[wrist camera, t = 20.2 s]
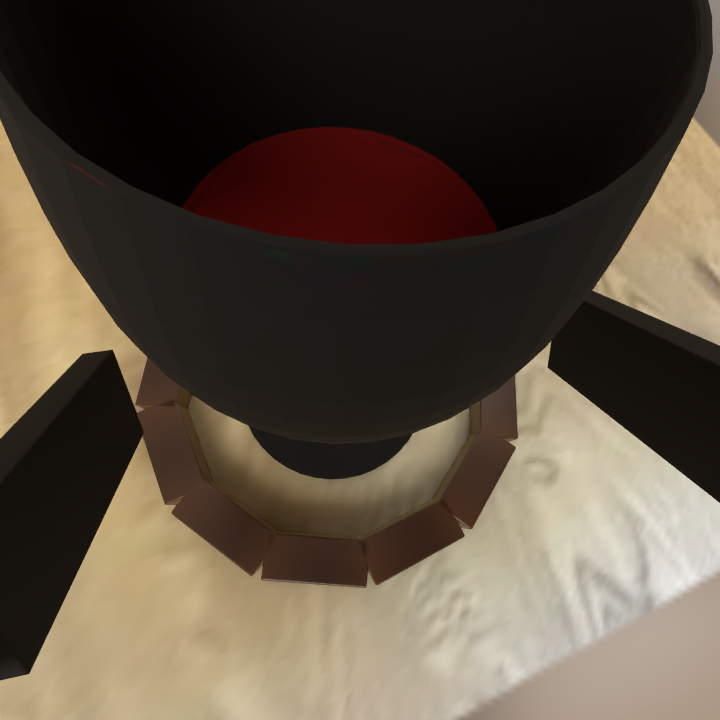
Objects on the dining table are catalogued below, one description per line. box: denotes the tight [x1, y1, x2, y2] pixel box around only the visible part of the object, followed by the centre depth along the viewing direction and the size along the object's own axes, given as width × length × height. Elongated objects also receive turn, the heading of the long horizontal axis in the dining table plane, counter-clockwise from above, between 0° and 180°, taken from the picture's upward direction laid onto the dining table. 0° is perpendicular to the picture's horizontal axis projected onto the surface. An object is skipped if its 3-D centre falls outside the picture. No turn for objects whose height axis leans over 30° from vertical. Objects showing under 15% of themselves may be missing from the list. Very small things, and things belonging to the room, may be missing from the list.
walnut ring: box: [136, 358, 518, 588], centre depth 23 cm, size 20×20×2 cm
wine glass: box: [0, 0, 713, 479], centre depth 14 cm, size 10×10×20 cm
